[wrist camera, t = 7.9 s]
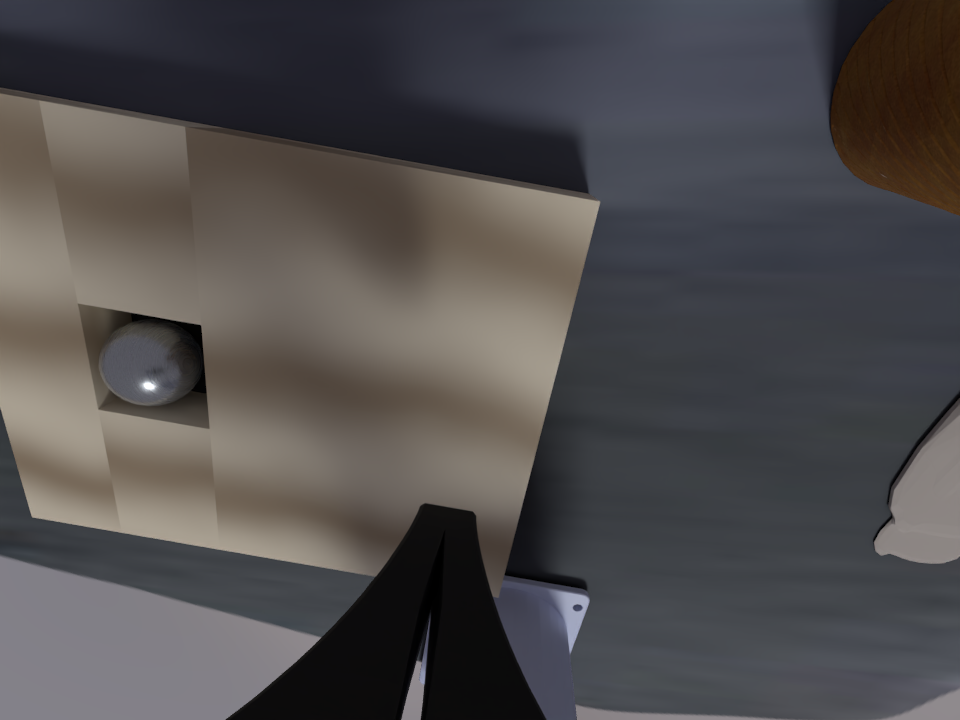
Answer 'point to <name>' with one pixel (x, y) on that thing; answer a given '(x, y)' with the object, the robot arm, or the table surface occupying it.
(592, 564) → the table surface
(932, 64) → the disposable coffee cup
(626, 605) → the table surface
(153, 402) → the steel ball
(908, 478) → the beige bookend
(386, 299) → the birch plate
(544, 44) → the table surface
